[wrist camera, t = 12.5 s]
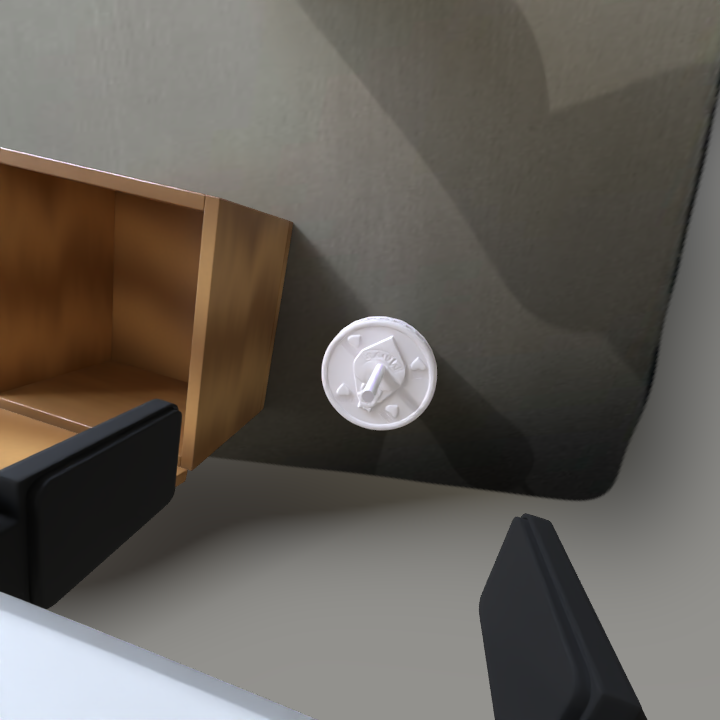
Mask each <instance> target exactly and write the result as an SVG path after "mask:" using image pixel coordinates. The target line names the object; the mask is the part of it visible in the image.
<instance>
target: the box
mask: <svg viewBox="0 0 720 720" xmlns="http://www.w3.org/2000/svg"><path fill="white" fill-rule="evenodd" d="M292 229H293V222H291V221H288V220H285V219H282V218H279V217H276V216H273V215H270V214H267V213H264V212H261V211H258V210H255V209H252V208H249V207H246V206H243V205H240V204H237V203H234V202H231V201H228V200H225V199H222V198H218V197H214V196H210V195H205V194H201V193H196V192H192V191H188V190H183V189H179V188H175V187H170V186H166V185H162V184H157V183H153V182H149V181H144V180H140V179H136V178H132V177H127V176H123V175H119V174H114V173H110V172H106V171H101V170H97V169H93V168H88V167H84V166H80V165H75V164H71V163H67V162H62V161H58V160H54V159H49V158H45V157H41V156H36V155H32V154H28V153H23V152H19V151H15V150H10V149H6V148H2V147H0V408H2V409H5V410H8V411H11V412H14V413H17V414H20V415H23V416H26V417H29V418H32V419H35V420H38V421H41V422H44V423H47V424H50V425H53V426H57V427H60V428H63V429H66V430H69V431H72V432H75V433H78V434H79V433H81V432H83V431H85V430H88V429H90V428H92V427H94V426H96V425H98V424H101V423H103V422H105V421H107V420H109V419H111V418H114V417H116V416H118V415H120V414H122V413H124V412H127V411H129V410H131V409H133V408H135V407H137V406H140V405H142V404H144V403H146V402H148V401H150V400H153V399H160V400H164V401H167V402H170V403H173V404H176V405H177V406H178V409H179V411H180V412H181V413H182V423H181V434H180V444H179V454H178V464H177V466H178V467H181V468H184V469H187V470H191V471H192V470H193V469H194V468H196V467H197V466H198V465H199V464H200V463H201V462H203V461H204V460H205V459H206V458H207V457H208V456H210V455H211V454H212V453H213V452H214V451H215V450H216V449H218V448H219V447H220V446H221V445H222V444H223V443H225V442H226V441H227V440H228V439H229V438H230V437H231V436H233V435H234V434H235V433H236V432H237V431H238V430H240V429H241V428H242V427H243V426H244V425H245V424H246V423H248V422H249V421H250V420H251V419H252V418H253V417H255V416H256V415H257V414H258V413H259V412H260V411H261V410H262V409H263V408H264V402H265V396H266V390H267V383H268V377H269V371H270V365H271V359H272V352H273V346H274V340H275V334H276V328H277V322H278V315H279V309H280V303H281V297H282V291H283V284H284V278H285V272H286V266H287V260H288V253H289V247H290V241H291V235H292Z"/></svg>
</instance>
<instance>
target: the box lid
mask: <svg viewBox="0 0 720 720" xmlns="http://www.w3.org/2000/svg"><path fill="white" fill-rule="evenodd" d="M75 435H77V433H74V432H71V431H68V430H65V429H62V428H59V427H56V426H53V425H50V424H47V423H44V422H41V421H38V420H35V419H32V418H29V417H26V416H23V415H20V414H16V413H13V412H10V411H7V410H4V409H1V408H0V470H1V469H3V468H5V467H7V466H10V465H12V464H14V463H16V462H18V461H20V460H23V459H25V458H27V457H29V456H31V455H33V454H36V453H38V452H40V451H42V450H44V449H46V448H49V447H51V446H53V445H55V444H57V443H59V442H62V441H64V440H66V439H68V438H70V437H72V436H75ZM187 471H188V470H187V469H184V468H181V467H178V466H177V474H176V485H175V487H177V486H178V485H180V484H181V483H183V482H185V480H186V475H187Z"/></svg>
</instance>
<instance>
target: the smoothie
mask: <svg viewBox="0 0 720 720" xmlns="http://www.w3.org/2000/svg"><path fill="white" fill-rule="evenodd" d="M321 373H322V383H323V387H324V390H325V393H326V395H327V397H328V399H329V401H330V403H331V404H332V406H333V407H334V408H335V409H336V411H337V412H338V413H339V414H341V415H342V416H343V417H344V418H345V419H347V420H348V421H350V422H352V423H353V424H356V425H358V426H360V427H363V428H367V429H372V430H391V429H396V428H399V427H402V426H405V425H407V424H409V423H410V422H412V421H414V420H415V419H416V418H417V417H419V416H420V415H421V414H422V413H423V412H424V410H425V409H426V408H427V406H428V405H429V403H430V401H431V399H432V397H433V395H434V391H435V387H436V382H437V364H436V361H435V357H434V354H433V351H432V349H431V347H430V346H429V344H428V342H427V341H426V339H425V338H424V337H423V336H422V335H421V334H420V333H419V332H418V331H417V330H416V329H415V328H414V327H412V326H410V325H409V324H408V323H406V322H404V321H402V320H399V319H394V318H389V317H385V316H380V317H367V318H364V319H360V320H357V321H354V322H353V323H351V324H350V325H348V326H347V327H345V328H343V329H342V330H341V331H340V332H339V334H338V335H337V336H336V337H335V338H334V339H333V340H332V342H331V343H330V345H329V346H328V348H327V350H326V352H325V355H324V358H323V362H322V371H321Z"/></svg>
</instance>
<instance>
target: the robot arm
mask: <svg viewBox="0 0 720 720" xmlns="http://www.w3.org/2000/svg"><path fill="white" fill-rule="evenodd" d="M181 423H182V413H181V412H180V411H179V409H178V406H177V405H176V404H173V403H170V402H167V401H164V400H160V399H153V400H150V401H148V402H146V403H144V404H142V405H140V406H137V407H135V408H133V409H131V410H129V411H127V412H124V413H122V414H120V415H118V416H116V417H114V418H111V419H109V420H107V421H105V422H103V423H101V424H98V425H96V426H94V427H92V428H90V429H88V430H85V431H83V432H81V433H79V434H77V435H75V436H72V437H70V438H68V439H66V440H64V441H62V442H59V443H57V444H55V445H53V446H51V447H49V448H46V449H44V450H42V451H40V452H38V453H36V454H33V455H31V456H29V457H27V458H25V459H23V460H20V461H18V462H16V463H14V464H12V465H10V466H7V467H5V468H3V469H1V470H0V720H317V719H315V718H313V717H310V716H308V715H305V714H303V713H301V712H298V711H296V710H293V709H290V708H288V707H286V706H283V705H281V704H279V703H276V702H274V701H271V700H269V699H266V698H264V697H261V696H259V695H256V694H254V693H252V692H249V691H247V690H244V689H242V688H239V687H237V686H234V685H232V684H229V683H227V682H225V681H222V680H220V679H217V678H215V677H212V676H210V675H208V674H205V673H203V672H200V671H198V670H195V669H193V668H190V667H188V666H185V665H183V664H181V663H178V662H175V661H173V660H171V659H168V658H166V657H163V656H161V655H158V654H156V653H153V652H151V651H148V650H146V649H143V648H141V647H139V646H136V645H134V644H131V643H129V642H126V641H123V640H121V639H119V638H116V637H114V636H111V635H109V634H106V633H104V632H101V631H98V630H96V629H94V628H91V627H89V626H86V625H84V624H81V623H79V622H76V621H74V620H71V619H69V618H66V617H64V616H61V615H58V614H56V613H54V612H51V611H48V610H46V609H48V608H50V607H51V606H53V605H54V604H56V603H57V602H58V601H59V600H60V599H61V598H62V597H64V595H66V594H67V593H68V592H69V591H70V590H71V589H72V588H74V587H75V586H76V585H77V584H78V583H79V582H80V581H82V580H83V579H84V578H85V577H86V576H87V575H88V574H89V573H90V572H92V571H93V570H94V569H95V568H96V567H97V566H98V565H99V564H101V563H102V562H103V561H104V560H105V559H106V558H107V557H109V556H110V555H111V554H112V553H113V552H114V551H115V550H116V549H118V548H119V547H120V546H121V545H122V544H123V543H124V542H125V541H127V540H128V539H129V538H130V537H131V536H132V535H133V534H134V533H136V532H137V531H138V530H139V529H140V528H141V527H142V526H143V525H144V524H146V523H147V522H148V521H149V520H150V519H151V518H152V517H154V516H155V515H156V514H157V513H158V512H159V511H160V510H161V509H163V508H164V507H165V506H166V505H167V504H168V503H169V502H170V500H171V499H172V497H173V495H174V492H175V485H176V474H177V464H178V454H179V444H180V434H181ZM479 615H480V622H481V629H482V635H483V642H484V649H485V655H486V662H487V669H488V676H489V683H490V689H491V696H492V702H493V709H494V716H495V720H647V718H646V716H645V714H644V712H643V710H642V707H641V705H640V703H639V700H638V698H637V696H636V695H635V692H634V690H633V688H632V686H631V684H630V682H629V680H628V678H627V676H626V674H625V672H624V670H623V668H622V666H621V664H620V662H619V660H618V658H617V656H616V654H615V652H614V650H613V648H612V646H611V644H610V641H609V639H608V637H607V636H606V633H605V631H604V629H603V627H602V625H601V623H600V621H599V619H598V617H597V615H596V613H595V611H594V609H593V607H592V605H591V603H590V601H589V598H588V597H587V594H586V592H585V590H584V588H583V586H582V584H581V582H580V580H579V578H578V576H577V574H576V572H575V570H574V568H573V566H572V564H571V562H570V560H569V558H568V556H567V554H566V552H565V550H564V547H563V545H562V543H561V541H560V540H559V537H558V535H557V533H556V531H555V529H554V527H553V525H552V523H551V522H550V521H549V520H546V519H543V518H539V517H536V516H533V515H530V514H526V513H525V514H523V515H522V516H521V518H520V517H515V518H514V519H513V521H512V523H511V526H510V528H509V531H508V533H507V535H506V538H505V540H504V542H503V545H502V547H501V549H500V552H499V554H498V556H497V559H496V561H495V564H494V566H493V568H492V571H491V573H490V576H489V578H488V580H487V583H486V585H485V587H484V590H483V592H482V595H481V597H480V602H479Z"/></svg>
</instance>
